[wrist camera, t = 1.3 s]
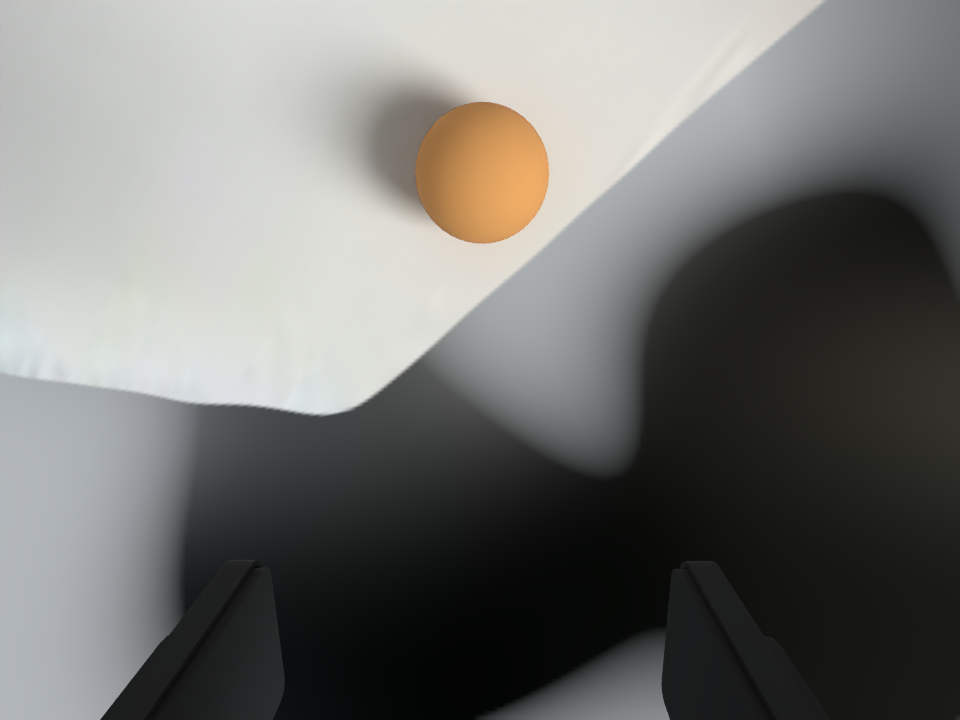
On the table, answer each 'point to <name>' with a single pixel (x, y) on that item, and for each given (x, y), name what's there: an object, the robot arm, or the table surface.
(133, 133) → the table surface
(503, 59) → the table surface
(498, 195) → the ball
